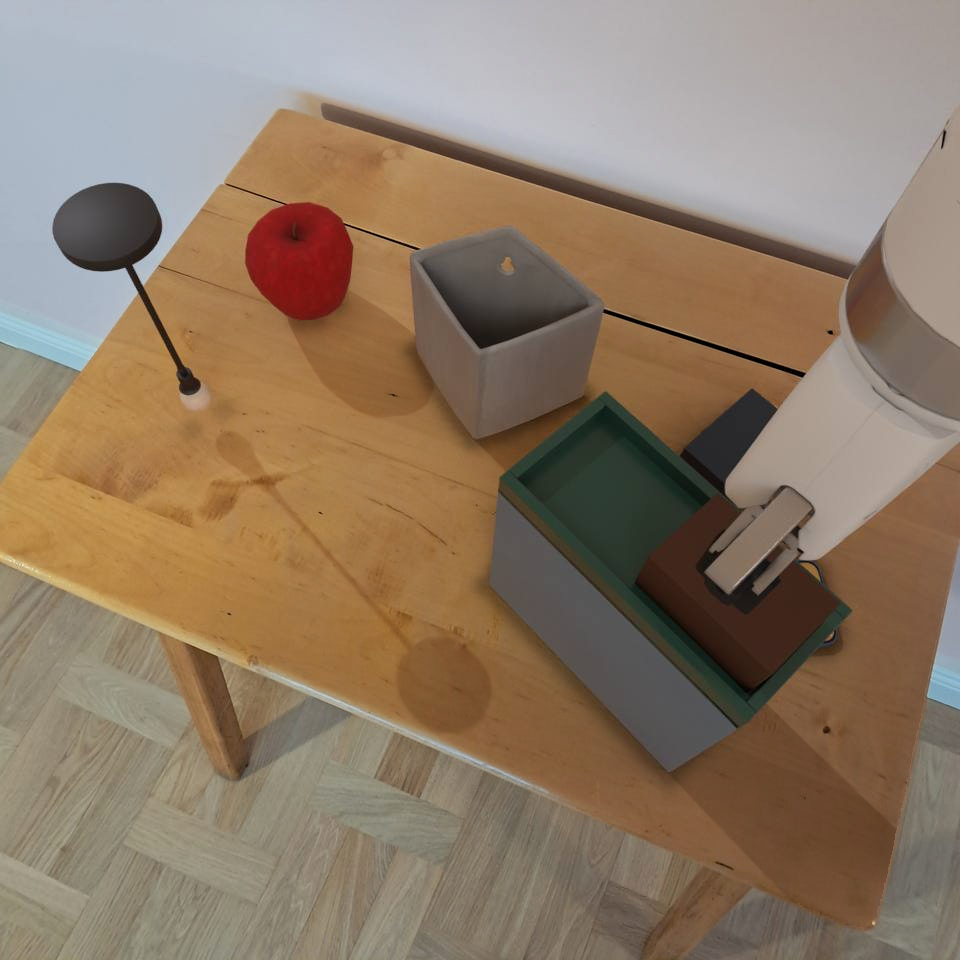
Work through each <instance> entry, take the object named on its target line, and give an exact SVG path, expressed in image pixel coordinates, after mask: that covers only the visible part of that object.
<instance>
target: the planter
mask: <svg viewBox="0 0 960 960" xmlns="http://www.w3.org/2000/svg"><path fill="white" fill-rule="evenodd" d="M506 258H509V259H511V262H510V265H511V266H512V268H513V270H506V269H505V268H503V267H502V265H503V264H504V263H505V261H506ZM409 270H410V271H409V272H410V273H409V274H410V285H411V298H412V311H413V325H414V326H413V327H414V334H415V335H414V337H415V338H414V339H415V349H416V353H417V356H418V357H419V359H420V361H421V362H422V364H423V366H424V367H425V369H426V371H427V372H428V374H429V376H430V377H431V379H432V380H433V383H434V385H435V386H436V387H437V389H438V391H439V392H440V394H441V396H442V397H443V399H445V402H447V404H448V406H449V407H450V409H451V411H452V412H453V413H454V415H455V416H456V418H457V419H458V420H459V422H460V423H461V424H462V426H463V427H464V428H465V430H466V431H467V432H468V433H469V435H470V436H471V437H472V439H473V440H480V439H483V438H486V437H489V436H493V435H495V434H498V433H501V432H504V431H507V430H509V429H512V428H515V427H517V426H520V425H522V424H524V423H528V422H529V421H532V420H534V419H537V418H539V417H541V416H544V415H546V414H548V413H550V412H553V411H554V410H557V409H560V408H561V407H563V406H566V405H568V404H570V403H572V402H575V401H577V400H579V399H581V398H583V396H584V395H585V390H586V386H587V382H588V378H589V374H590V370H591V366H592V362H593V357H594V354H595V349H596V345H597V341H598V337H599V333H600V329H601V324H602V320H603V315H604V311H605V301H604V300H603V299H602V298H601V297H600V296H599V295H598V294H597V293H595V291H593V290H592V289H591V288H589V286H587V284H585V283H584V282H583V281H581V279H580V278H578V277H577V276H576V275H575V274H574V273H573V272H571V271H570V270H568V269H567V267H565V266H564V265H562V264H561V263H560V262H559V261H557V260H556V259H555V258H553V257H552V256H551V255H550V254H549V253H547V252H546V251H545V250H543V249H542V248H541V247H540V246H539V245H537V244H536V243H535V242H534V241H533V240H531V239H530V238H529V237H527V236H526V235H525V234H524V233H522V232H521V231H520V230H518V229H517V228H515V227H514V226H512V225H504V226H500V227H495V228H491V229H488V230H484V231H480V232H476V233H472V234H467V235H464V236H460V237H457V238H453V239H450V240H445V241H443V242H439V243H436V244H433V245H431V246H430V245H429V246H427V247H423V248H419V249H416V250H414V251H412V252H411V253H410V255H409Z"/></svg>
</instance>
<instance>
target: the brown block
mask: <svg viewBox="0 0 960 960" xmlns="http://www.w3.org/2000/svg"><path fill="white" fill-rule="evenodd" d="M740 514H741V513H740V512H739V511H738V510H737V509H736V508H734V507H733V506H732V505H731V504H730V503H729V502H728V501H727V500H725V499H724V498H723V497H722V496H721V495H720V494H719V493H717V494H716V495H715V496H714V497H712V498H711V499H710V500H709V501H708V502H707V503H706V504H705V505H704V506H703V507H701V508H700V509H699V510H698V511H697V512H696V513H695V514H694V515H693V516H692V517H690V518H689V519H688V520H687V521H686V522H685V523H684V524H683V525H682V526H681V527H679V528H678V529H677V530H676V531H675V532H674V533H673V534H672V535H671V536H670V537H668V538H667V539H666V540H665V541H664V542H663V543H662V544H661V545H660V546H659V547H657V548H656V549H655V550H654V551H653V552H652V553H651V554H650V555H649V556H648V558H647V560H646V562H645V563H644V565H643V567H642V569H641V571H640V573H639V574H638V576H637V578H636V580H635V584H636V585H637V586H638V587H639V588H640V589H641V590H642V591H643V592H644V593H645V594H646V595H647V596H648V597H649V598H650V599H651V600H652V601H653V602H654V603H656V604H657V605H658V606H659V607H660V608H661V609H662V610H663V611H664V612H665V613H666V614H667V615H668V616H669V617H670V618H671V619H672V620H673V621H674V622H675V623H676V624H677V625H678V626H679V627H680V628H681V629H682V630H683V631H684V632H685V633H686V634H687V635H688V636H689V637H690V638H691V639H692V640H693V641H694V642H695V643H696V644H697V645H698V646H699V647H700V648H701V649H703V650H704V651H705V652H706V653H707V654H708V655H709V656H710V657H711V658H712V659H713V660H714V661H715V662H716V663H717V664H718V665H719V666H720V667H721V668H722V669H723V670H724V671H725V672H726V673H727V674H728V675H729V676H730V677H731V678H732V679H733V680H734V681H735V682H736V683H737V684H738V685H739V686H740V687H741V688H742V689H743V690H744V691H745V692H747V693H748V692H749V691H751V690H752V689H753V688H755V687H756V686H757V685H759V684H760V683H761V682H763V681H764V680H766V679H767V678H768V677H770V676H771V675H772V674H773V673H774V672H775V671H776V670H777V669H778V668H779V667H780V666H781V665H782V664H783V663H784V662H785V661H786V660H787V659H788V658H789V657H790V656H791V655H792V654H793V653H794V652H795V650H796V649H797V648H798V647H799V646H800V645H801V644H802V643H803V642H804V641H805V640H806V639H807V638H808V637H809V636H810V635H811V634H812V633H813V632H814V631H815V630H816V629H817V628H818V627H819V626H820V624H821V623H822V622H823V621H824V620H825V619H826V618H827V617H828V616H829V615H830V614H831V613H832V612H833V611H834V610H835V609H836V608H837V607H838V606H839V605H840V602H839V601H838V600H837V599H836V598H835V597H834V596H833V595H831V594H830V593H829V592H828V591H827V590H826V589H825V588H824V587H822V586H821V585H820V584H819V583H818V582H817V581H816V580H815V579H814V578H812V577H811V576H810V575H809V574H808V573H807V572H806V571H805V570H804V569H802V568H801V567H800V566H799V565H798V564H797V563H796V562H795V561H792V562H791V563H790V564H789V565H788V566H787V567H786V568H785V569H784V570H783V571H782V572H781V573H780V574H779V579H780V580H782V581H781V582H780V583H779V584H778V585H777V586H776V587H775V588H774V589H773V590H772V591H771V592H770V593H769V594H768V595H767V596H766V597H765V598H764V599H763V600H762V601H761V602H760V603H759V604H758V605H757V606H756V607H755V608H754V609H753V610H752V611H751V612H750V613H749V614H748V615H746V614H743V613H742V612H740V611H739V610H738V609H737V608H736V607H735V606H734V605H733V604H732V605H730V606H729V605H725V604H723V603H721V602H720V601H719V600H718V599H717V598H716V597H714V596H713V595H712V594H711V593H710V592H709V591H708V589H707V588H706V586H705V584H704V579H705V578H704V577H703V576H702V575H700V574H699V572H698V571H697V570H696V567H695V566H696V564H697V563H698V561H699V560H700V558H701V557H702V556H703V554H704V553H705V551H706V550H707V549H708V547H709V546H710V544H711V543H712V541H713V540H714V539H715V537H716V536H717V535H718V534H719V533H720V532H721V531H722V530H723V529H725V530H727V529H728V528H729V527H730V525H731V524H732V523H733V522H734V521H735V520H736V519H737V518H738V517H739V516H740ZM782 552H783V551H782V550H781V549H780V548H779V547H778V546H776V547H775V548H774V550H773V551H772V552H771V553H770V554H769V555H768V556H767V557H766V559H767V560H769V561H770V562H771V564H772V563H773V561H774V560H775V559H776V558H777V557H778V556H779V555H780V554H781V553H782ZM771 564H770V565H771ZM770 565H769V566H770Z"/></svg>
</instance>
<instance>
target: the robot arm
mask: <svg viewBox="0 0 960 960" xmlns="http://www.w3.org/2000/svg"><path fill="white" fill-rule="evenodd" d="M837 313H838V314H837V315H838V316H837V318H838V326H839V334H838V336H837V337H836V338H835V339H834V340H833V341H832V342H831V344H830V345H828V347H827V348H826V350H824V351H823V352H822V354H821V355H820V356H819V357H818V359H817V360H816V361H815V362H814V363H813V364H812V366H810V368H809V369H808V371H806V373H805V374H804V375H803V377H802V378H801V379H800V380H799V382H798V383H797V384H796V385H795V387H794V388H793V389H792V390H791V392H790V393H789V395H787V397H786V398H785V400H784V401H783V402H782V403H781V405H780V406H779V407H778V408H777V409H778V410H777V412H776V413H775V414H774V415H773V417H772V418H771V419H770V421H769V422H768V424H767V425H766V426H765V428H764V429H763V430H762V432H761V433H760V434H759V436H758V437H757V439H756V440H755V441H754V443H753V444H752V445H751V447H750V448H749V449H748V451H747V452H746V453H745V455H744V456H743V458H742V459H741V460H740V462H739V463H738V464H737V466H736V467H735V468H734V469H733V471H732V472H731V473H730V475H729V476H728V478H727V479H726V482H725V494H726V495H727V497H728V498H729V499H730V500H731V501H732V502H733V503H734V504H735V505H736V507H737V508H738V509H743V511H742V513H741V514H740V516H739V517H738V518H737V519H736V520H735V521H734V522H733V523H732V524H731V525H730V527H729V528H728V529H727V530H725V529H723V530H722V531H721V532H720V533H719V534H718V535H717V536H716V537H715V539H714V540H713V541H712V543H711V544H710V546H709V547H708V549H707V550H706V551H705V553H704V554H703V556H702V557H701V558H700V560H699V561H698V563H697V564H696V566H695V567H696V570H697V571H698V572H699V574H700V575H702V576H703V577H704V578H705V579H704V584H705V586H706V588H707V589H708V591H709V592H710V593H711V594H712V595H713V596H714V597H716V598H717V599H718V600H719V601H720V602H721V603H723V604H725V605H729V606H730V605H732V604H733V605H734V606H735V607H736V608H737V609H738V610H739V611H740V612H742V613H743V614H746V615H748V614H749V613H750V612H751V611H752V610H753V609H754V608H755V607H756V606H757V605H758V604H759V603H760V602H761V601H762V600H763V599H764V598H765V597H766V596H767V595H768V594H769V593H770V592H771V591H772V590H773V589H774V588H775V587H776V586H777V585H778V584H779V583H780V582H781V581H782V580H780V579H779V574H780V573H781V572H782V571H783V570H784V569H785V568H786V567H787V566H788V565H789V564H790V563H791V562H792V561H793V560H794V559H796V558H797V557H798V556H799V555H800V556H799V557H798V558H797V560H811V561H818V560H819V559H821V558H823V557H824V556H826V554H828V553H829V552H830V551H832V550H833V549H834V548H835V547H836V546H838V545H839V544H840V543H842V542H843V541H844V540H846V539H847V538H848V537H849V536H850V535H852V534H853V533H854V532H856V531H857V530H858V529H859V528H860V527H862V526H863V525H864V524H866V523H867V522H868V521H869V520H870V519H872V518H873V517H874V516H875V515H876V514H878V513H879V512H881V511H882V510H883V509H884V508H885V507H887V505H889V504H890V503H891V502H892V501H894V499H896V498H897V497H898V496H899V495H901V493H903V492H904V491H905V490H906V489H908V488H909V487H910V486H911V485H912V484H914V483H915V482H916V481H917V480H918V479H919V478H920V477H922V476H923V475H924V474H925V473H926V472H928V470H930V469H931V468H932V467H933V466H934V465H936V463H938V462H939V461H940V460H941V459H942V458H943V457H944V456H945V455H947V454H948V453H949V452H950V451H952V449H953V448H955V446H956V445H958V444H959V443H960V100H959V101H958V103H957V104H956V106H955V107H954V109H953V111H952V112H951V114H950V116H949V117H948V119H947V121H946V122H945V123H944V125H943V127H942V128H941V130H940V132H939V133H938V135H937V137H936V138H935V140H934V141H933V143H932V145H931V146H930V148H929V149H928V151H927V153H926V155H925V156H924V157H923V160H922V161H921V163H920V164H919V166H918V167H917V168H916V170H915V172H914V174H913V175H912V177H911V179H910V180H909V181H908V183H907V185H906V187H905V189H904V190H903V191H902V193H901V195H900V196H899V198H898V200H897V201H896V202H895V205H894V206H893V208H892V209H891V211H890V212H889V213H888V215H887V216H886V218H885V219H884V221H883V223H882V225H881V226H880V227H879V229H878V231H877V233H876V234H875V236H874V237H873V239H872V241H871V242H870V244H869V245H868V247H867V248H866V250H865V252H864V253H863V255H862V256H861V258H860V259H859V261H858V263H857V265H856V266H855V267H854V269H853V270H852V272H851V274H850V275H849V277H848V279H847V281H846V282H845V284H844V285H843V288H842V291H841V294H840V296H839V302H838V312H837ZM773 498H774V499H773ZM771 499H773V500H772V501H771ZM808 515H809V517H808ZM806 517H808V518H807V519H806V521H804V519H805V518H806ZM802 521H804V522H803V524H804V525H803V526H799V524H800V523H801V522H802ZM781 543H783V544H784V545H785V546H786V548H785V549H784V551H783V552H782V553H781V554H780V555H779V556H778V557H777V558H776V559H775V560H774V561H773V563H772V564H771V562H770V561H769V560H767V559H766V557H767V556H768V555H769V554H770V553H771V552H772V551H773V550H774V548H775V547H776V546H777V545H778V544H779V545H780V544H781ZM770 564H771V565H770ZM769 565H770V566H769Z"/></svg>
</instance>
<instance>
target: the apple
mask: <svg viewBox="0 0 960 960" xmlns="http://www.w3.org/2000/svg"><path fill="white" fill-rule="evenodd" d="M246 239H247V240H246V243H245V244H246V245H245V249H244V250H245V253H244V255H245V256H244V264H245V267H246V270H247V272H248V276H249V279H250V280H251V282H252V283H253V285H254V286H255V288H256V289H257V290H258V292H259V293H260V295H261V296H263V297H264V298H265V299H266V300H267V301H268V302H269V303H270V304H271V305H272V306H274V307H275V308H276V309H277V310H278V311H280V312H281V313H282V314H283V315H284V316H286V317H289V318H292V319H295V320H297V321H314V320H317V319H320V318H324V317H327V316H329V315H331V314H332V313H333V312H334V311H336V310H338V309H339V308H340V307H341V305H342V303H343V301H344V299H345V298H346V296H347V293H348V289H349V285H350V282H351V277H352V276H351V275H352V268H353V257H354V244H353V242H352V239H351V237H350V234H349V232H348V230H347V227H346V225H345V222H344V221H343V218H342V217H340V216H339V215H338V214H337V213H335V212H334V211H332V209H330V208H329V207H327V206H324V205H320V204H317V203H314V202H311V201H303V202H291V203H290V202H289V203H286V204H284V205H281V206H278V207H275V208H273V209H270V210H269V211H267V213H265V214H264V215H263V216H261V218H260V219H258V220H257V221H256V223H255V224H254V225H253V227H252V229H250V231H249V233H248V234H247V238H246Z"/></svg>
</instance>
